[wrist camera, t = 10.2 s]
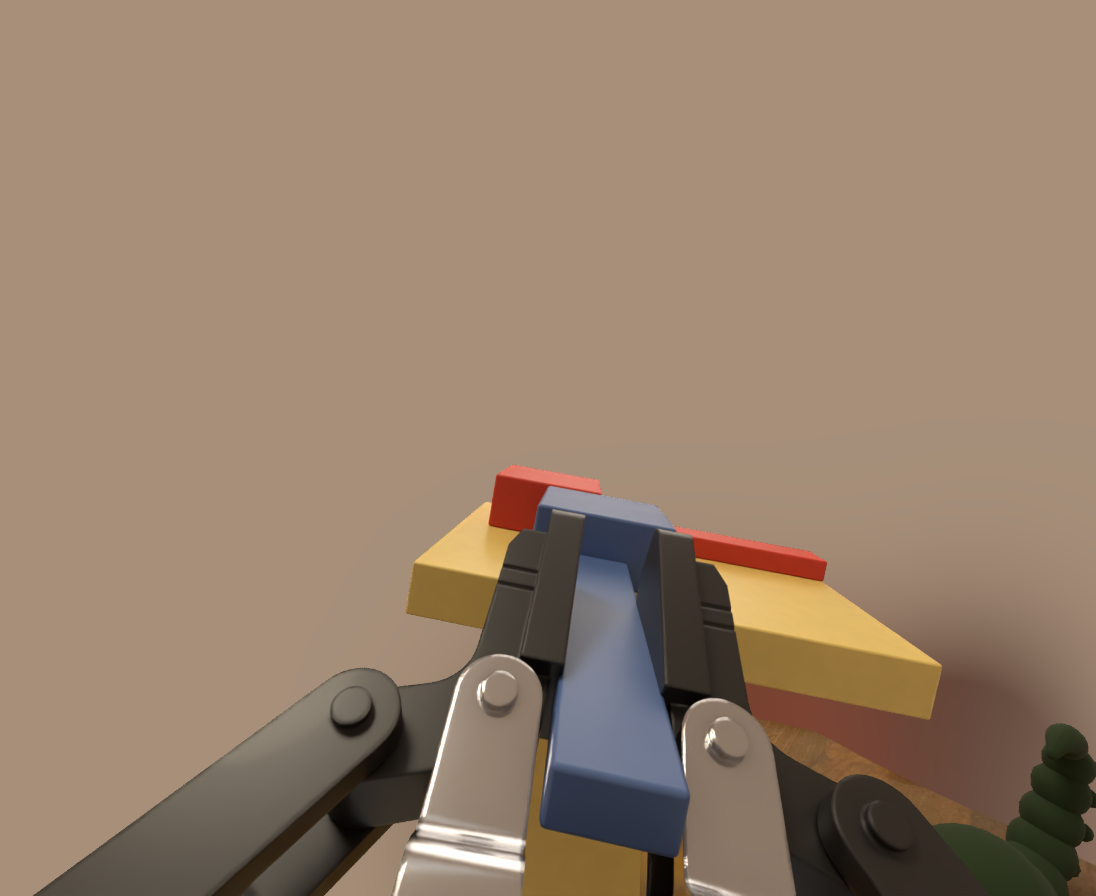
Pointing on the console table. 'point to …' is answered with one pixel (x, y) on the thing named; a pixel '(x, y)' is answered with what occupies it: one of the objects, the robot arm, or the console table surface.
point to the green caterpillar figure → (1036, 825)
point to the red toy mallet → (527, 486)
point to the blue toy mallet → (611, 693)
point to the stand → (766, 657)
